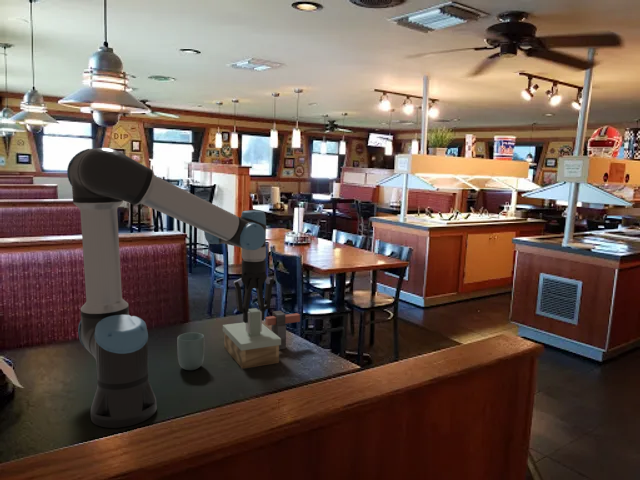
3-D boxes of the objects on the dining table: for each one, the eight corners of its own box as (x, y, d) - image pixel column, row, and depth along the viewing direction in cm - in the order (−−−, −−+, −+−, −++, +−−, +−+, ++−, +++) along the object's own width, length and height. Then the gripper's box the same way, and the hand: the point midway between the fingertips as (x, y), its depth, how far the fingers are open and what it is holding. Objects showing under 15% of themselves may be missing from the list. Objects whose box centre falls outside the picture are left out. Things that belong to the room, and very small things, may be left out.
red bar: (300, 321, 171) (300, 315, 171) (267, 325, 166) (267, 318, 165) (297, 319, 173) (297, 313, 173) (265, 323, 168) (265, 317, 167)
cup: (172, 369, 148) (171, 337, 147) (190, 361, 155) (190, 330, 154) (192, 374, 144) (191, 342, 143) (209, 366, 151) (209, 334, 150)
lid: (281, 349, 154) (281, 314, 153) (241, 355, 148) (241, 318, 147) (258, 330, 173) (258, 298, 171) (222, 334, 167) (222, 302, 165)
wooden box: (298, 359, 158) (299, 323, 157) (242, 368, 150) (242, 330, 148) (276, 340, 176) (276, 308, 174) (224, 347, 167) (224, 313, 166)
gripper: (273, 256, 161) (272, 325, 164) (225, 259, 154) (225, 331, 157) (281, 259, 155) (281, 331, 158) (232, 263, 147) (232, 338, 150)
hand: (253, 331), depth 157 cm, fingers closed on lid, 3 cm apart
